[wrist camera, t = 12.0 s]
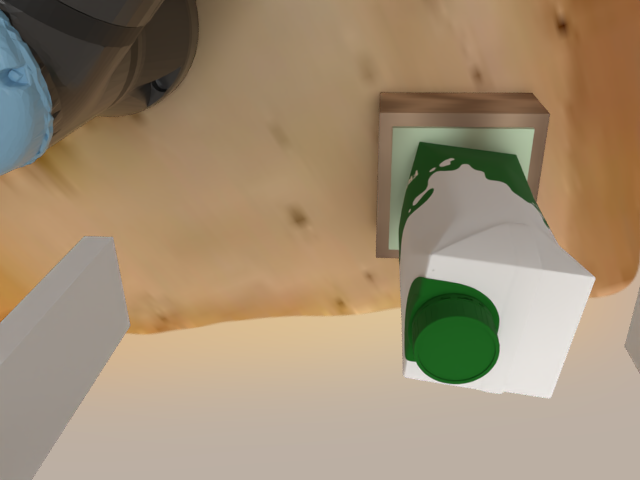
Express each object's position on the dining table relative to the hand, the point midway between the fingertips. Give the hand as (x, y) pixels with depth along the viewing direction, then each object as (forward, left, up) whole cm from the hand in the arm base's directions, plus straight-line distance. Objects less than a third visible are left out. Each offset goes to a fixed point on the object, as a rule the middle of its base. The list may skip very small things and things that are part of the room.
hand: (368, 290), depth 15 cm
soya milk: (+6, -10, -30) cm, 33 cm away
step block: (+6, -10, -37) cm, 39 cm away
